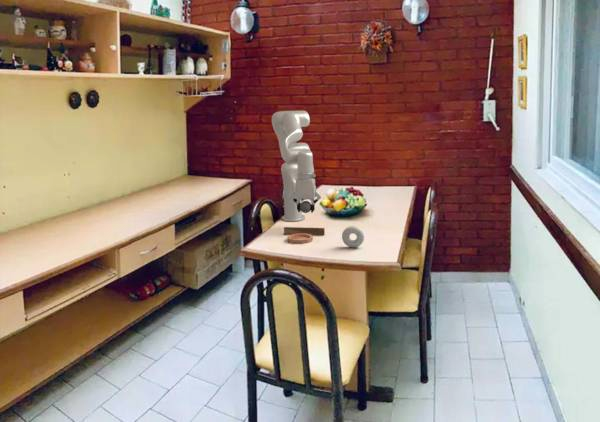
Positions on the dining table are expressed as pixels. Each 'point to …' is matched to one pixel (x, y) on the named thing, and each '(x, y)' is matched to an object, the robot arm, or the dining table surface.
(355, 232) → the donut
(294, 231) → the wall
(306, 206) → the ball
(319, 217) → the dining table surface
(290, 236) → the bowl
